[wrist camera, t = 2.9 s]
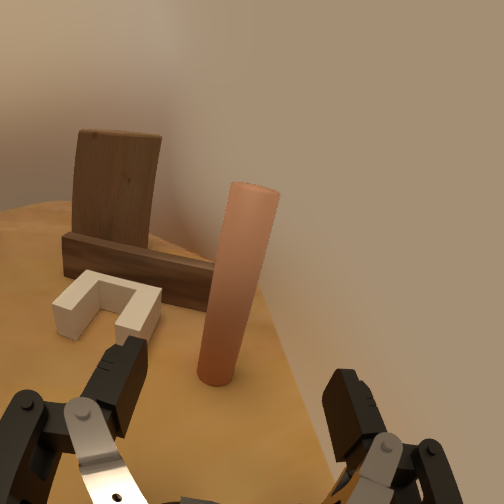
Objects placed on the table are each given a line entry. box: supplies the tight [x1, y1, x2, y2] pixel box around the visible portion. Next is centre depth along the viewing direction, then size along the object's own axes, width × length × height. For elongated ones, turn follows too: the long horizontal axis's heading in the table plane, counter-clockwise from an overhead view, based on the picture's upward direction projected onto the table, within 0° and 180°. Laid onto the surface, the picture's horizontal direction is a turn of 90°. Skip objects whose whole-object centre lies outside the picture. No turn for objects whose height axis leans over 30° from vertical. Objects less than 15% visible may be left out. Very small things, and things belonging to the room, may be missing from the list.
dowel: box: [197, 182, 280, 386], centre depth 23 cm, size 4×4×18 cm
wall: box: [62, 232, 215, 312], centre depth 34 cm, size 2×22×6 cm, turn 91°
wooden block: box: [72, 129, 162, 249], centre depth 40 cm, size 10×10×20 cm
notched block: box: [52, 270, 162, 346], centre depth 27 cm, size 8×10×4 cm
